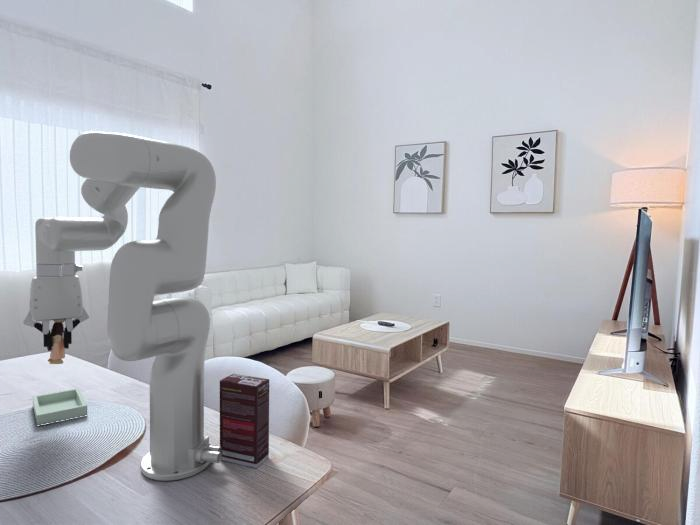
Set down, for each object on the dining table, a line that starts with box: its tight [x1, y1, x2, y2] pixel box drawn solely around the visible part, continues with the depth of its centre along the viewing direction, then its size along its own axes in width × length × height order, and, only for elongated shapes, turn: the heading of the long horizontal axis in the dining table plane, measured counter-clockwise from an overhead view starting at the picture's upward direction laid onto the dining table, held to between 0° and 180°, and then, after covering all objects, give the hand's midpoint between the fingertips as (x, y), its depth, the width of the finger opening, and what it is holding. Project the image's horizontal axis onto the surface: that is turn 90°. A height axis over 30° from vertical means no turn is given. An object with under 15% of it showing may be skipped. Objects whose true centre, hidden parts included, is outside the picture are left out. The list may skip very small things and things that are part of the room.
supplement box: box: [219, 373, 270, 469], centre depth 85 cm, size 9×5×16 cm, turn 70°
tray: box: [32, 387, 88, 426], centre depth 104 cm, size 14×10×3 cm
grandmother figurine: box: [47, 319, 66, 365], centre depth 103 cm, size 8×4×13 cm, turn 51°
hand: (57, 347), depth 103 cm, fingers closed on grandmother figurine, 2 cm apart
